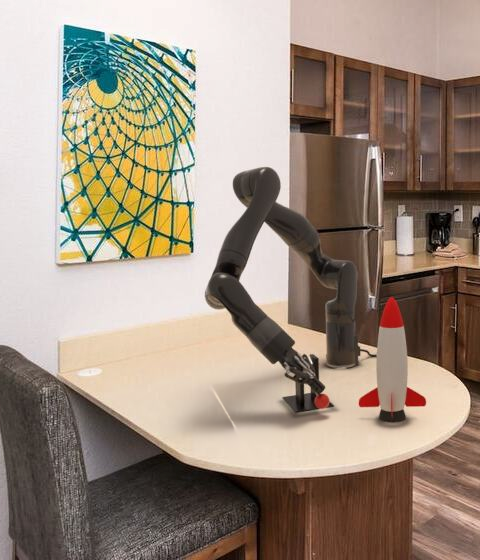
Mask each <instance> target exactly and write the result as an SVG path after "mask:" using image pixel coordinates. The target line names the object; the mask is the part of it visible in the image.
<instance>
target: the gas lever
mask: <svg viewBox="0 0 480 560" xmlns="http://www.w3.org/2000/svg"><path fill="white" fill-rule="evenodd" d="M307 357H308V359H309V360H310V362H311V364H312V366H313V363H312V361H311V358H310V355H309V356H307ZM315 393H316V392H315ZM316 395H317V396H316V397H315V400H314V403H315V405H316V407H317V408H319V409H318V410H324V409H327V408H326V407H327V406H328V405H329V402H331V401H330V398H329V396H328V394H325V393H323V392H322V393H321V394H319V395H318V394H317V393H316Z"/></svg>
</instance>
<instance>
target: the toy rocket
mask: <svg viewBox="0 0 480 560" xmlns="http://www.w3.org/2000/svg"><path fill="white" fill-rule="evenodd" d="M400 310H401V309H400V308H399V304H398V303H397V301H396V299H395V298H394V297H393V296H391V297H389V298H388V300H387V301H386V303H385V306H384V308H383V311H382V315H381V319H380V322H379V323H380V324H379V328H378V335H377V348H376V355H377V357H376V358H375V359H376V362H375V364H376V366H375V367H376V387H375V388H373V389H371V390H370V391H368V392H367V393H366V394H364V395H362V396H361V397H359V400H358V407H359V408H379V407H380V411H379V415H378V419H379V420H380V421H381V422H383V423H390V424H393V423H395V424H396V423H400V422H403V421H405V420H406V418H407V417H406V416H407V415H406V412H405V409H404V408H405V407H407V408H409V407H411V408H412V407H413V408H415V407H417V408H419V407H426V406H427V398H426V397H425V396H424V395H422V394H420V393H419V392H417V391H416V390H414V389H412V388H410V387H408V375H409V374H408V372H409V371H408V370H409V369H408V368H409V367H408V365H409V363H408V361H409V360H408V349H407V348H408V347H407V340H406V332H405V325H404V321H403V317H402V314H401V311H400Z"/></svg>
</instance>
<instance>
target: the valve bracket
mask: <svg viewBox="0 0 480 560" xmlns="http://www.w3.org/2000/svg"><path fill="white" fill-rule="evenodd" d="M309 356H310V358H311V361H312V363H313V368H314V369H315V372H314V373H315V375H316V376H315V377H316V378H317V379H318V380H319V381H320V363H319V361H320V360H319V359H320V358H319V357H318V356H316V355H315V354H314V353H310V354H309ZM300 371H302V370H300ZM294 384H295V394H294V395H287V396H282V400H283V401H284V402H285V403H286V404H287V405H288V407H290V408H291V410H292V411H293V412H294V413H296V414H297V413H303V412H310V411H316V410H320V409H319V408H317V407H316V405H315V403H314V400H315V397H316V396H317V395H316V393H315V391H314V390H313V389H312V388H311V387H310V386H309V388H310V392H306V393H305V384H304V385H301V384H299V383H297V382H295V381H294ZM334 407H335V405H334V404H333V403H332V402H331V401H330V402H329V405H328V406H327V407H326V408H325V409H328V408H334Z"/></svg>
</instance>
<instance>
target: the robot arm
mask: <svg viewBox="0 0 480 560" xmlns="http://www.w3.org/2000/svg"><path fill="white" fill-rule="evenodd" d="M281 184H282V183H281V179H280V176H279V174H278V172H277V171H276V170H275V169H274V168H272V167H269V166H259V167H256V168H252V169H251V168H250V169H247V170H243V171H240V172H238V173H236V175H235V176H234V177H233V178H232V190H233V193H234V195H235V197H236V198H237V200H238V201H239V202H240V203H241V204H242V205H243V206H244V207H245V208H246V209H245V210H244V212H243V213H242V214H241V216H240V217H239V218H238V219H237V220H236V222H234V224H233V225H232V226H231V228H230V229H229V230H228V231H227V234H226V235H225V237H224V239H223V242H222V245H221V246H220V250H219V253H218V256H217V259H216V264H215V266H214V269H213V272H212V274H211V276H210V278H209V280H208V282H207V284H206V287H205V290H204V299H205V302H206V304H207V305H208V306H209V307H210V308H211V309H214V310H217V311H219V310H224V309H225V310H226V311H227V312H228V313H229V315H230V317H231V322H232V324H233V325H234V326H235V327H236V328H237V329H238V331H240V332H241V333H242V334H243V335H244V337H246V338H247V340H248V341H249V342H250V344H251V345H252V346H253V347H254V348H255V349H256V350H257V351H258V352H259V353H260V354H262V356H263V357H264V358H265V359H266V360H267V361H268V362H269V363H271V364H272V365H276V363H279V364H280V365H281V367H282V368H283V369H284V371H286V372H285V373H284V374H283V375H284V377H285V378H288V379H289V380H291V381H293V382H294V383H295V382H297V383H299V384H301V385H304V386H305V385H307V386H309V388H310V387H311V388H312V389H313V390H314V391H315V392H316V393H317V394H318V395H319V394H321V393H322V394H323V392H324V391H325V390H326V386H325V384H324V383H323V382H322V381H320V379H319V380H318V379H317V378H316V377H315V376H316V375H315V373H314V372H315V369H314V368H313V366H312V364H311V362H310V360H309V359H308V357H309V356H308V355H307V354H305V353H303V354H301V353H299V352H298V351H297V350H296V349H294V348H293V346H294V345H296V341H295V339H294V338H292V337H291V336H290V335H289V333H287V331H285V330H284V329H283V328H282V327H281V326H280V325H279V324H278V322H276V321H275V320H273V319H272V318H271V317H269V316H268V314H267V313H265V311H263V310H262V308H260V307H259V306H258V304H256V303H255V302H254V300H253V298H252V297H251V295H250V294H249V292H248V291H247V289H246V288H245V286H244V285H243V284H242V282H240V279H241V276H242V274H243V273H244V270H245V268H246V266H247V264H248V261H249V259H250V256H251V252H252V250H253V246H254V243H255V241H256V239H257V237H258V235H259V233H260V231H261V229H262V227H263V225H264V223H265V225H267V226H268V227H269V228H270V229H271V230H272V231H273V232H274V233H275V234H276V235H277V236H278V237H279V238H280V239H281V240H282V242H283V243H284V244H285V245H286V246H287V247H288V248H289V249H290V250H291V251H293V252H294V253H295V254H296V255H297V257H299V259H301V261H302V262H304V264H305V265H306V266H307V267H308V268H309V269H310V270H311V272H312V273H313V274H314V276H315V277H316V279H317V280H318V281H319V282H320V284H321V285H322V286H323V287H325V288H326V289H330V290H336V297H335V298H333V299H331V300H328V301H327V302H326V303H325V340H326V341H325V346H326V348H325V349H326V353H325V359H326V366H327V367H329V368H331V369H341V368H345V369H350V368H352V367H355V366H359V357H361V352H364V353H366V354H367V355H368V356H369V357H373V358H377V354H372V353H370V351H369V350H367V349H363V348H361V346H360V345H359V335H358V334H356V333H357V332H356V305H357V302H358V285H359V273H358V268H357V265H356V264H355V263H354V262H353V261H352V260H347V259H346V260H345V259H334V258H332V257H330V256H329V255H328V254H327V253H326V252H325V251H324V250H323V248H322V247H321V246H322V245H321V244H322V243H321V237H320V234H319V231H318V230H317V229H316V227H315V226H314V225H313V224H312V223H311V222H310V221H309V219H308V218H307V217H306V216H305V215H303V214H301V213H300V212H298V211H296V210H294V209H291V208H290V207H288V206H284V205H283V204H281V203H279V202H277V200H278V197H279V195H280V192H281V187H282V186H281ZM300 370H302V371H300ZM311 388H310V389H311Z"/></svg>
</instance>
